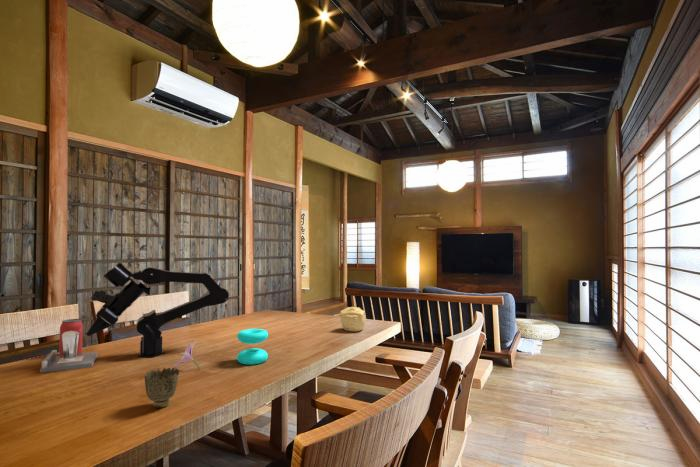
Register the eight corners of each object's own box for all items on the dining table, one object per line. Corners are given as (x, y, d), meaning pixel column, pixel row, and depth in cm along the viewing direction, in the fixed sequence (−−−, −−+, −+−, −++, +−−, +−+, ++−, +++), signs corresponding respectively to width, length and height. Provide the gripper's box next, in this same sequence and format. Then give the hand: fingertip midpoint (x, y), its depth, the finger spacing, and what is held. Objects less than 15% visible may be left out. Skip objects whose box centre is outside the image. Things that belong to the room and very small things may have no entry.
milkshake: (83, 358, 128) (83, 328, 128) (62, 362, 124) (63, 330, 124) (79, 356, 131) (80, 325, 131) (60, 359, 127) (60, 328, 127)
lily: (194, 365, 129) (179, 341, 128) (220, 355, 125) (205, 329, 124) (169, 388, 118) (152, 362, 117) (197, 378, 114) (180, 350, 113)
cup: (151, 400, 97) (152, 367, 97) (182, 399, 98) (183, 366, 98) (137, 412, 90) (138, 377, 90) (171, 411, 90) (172, 376, 90)
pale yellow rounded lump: (338, 332, 175) (338, 308, 176) (343, 327, 187) (343, 304, 187) (363, 333, 173) (363, 309, 174) (367, 328, 185) (367, 305, 185)
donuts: (231, 331, 131) (257, 326, 138) (231, 361, 130) (256, 355, 138) (248, 335, 124) (274, 330, 131) (247, 367, 123) (273, 361, 131)
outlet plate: (97, 355, 137) (97, 346, 137) (91, 367, 124) (91, 356, 124) (51, 360, 131) (51, 350, 131) (40, 372, 118) (40, 362, 118)
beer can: (70, 357, 134) (71, 322, 134) (54, 356, 135) (55, 321, 136) (86, 352, 140) (87, 318, 141) (71, 351, 142) (72, 318, 142)
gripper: (110, 278, 141) (73, 312, 136) (105, 282, 124) (62, 321, 119) (135, 299, 144) (99, 332, 139) (133, 305, 128) (93, 344, 122)
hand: (89, 332), depth 130 cm, fingers open, 9 cm apart
